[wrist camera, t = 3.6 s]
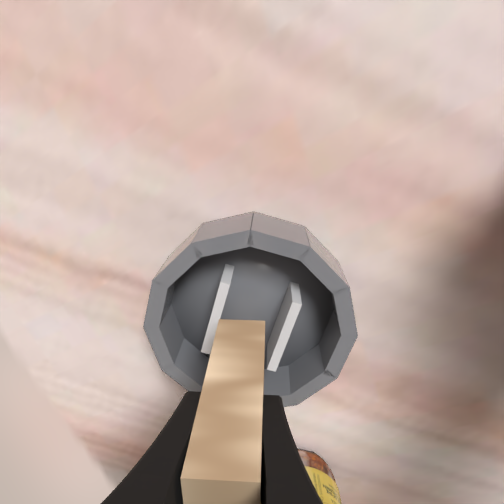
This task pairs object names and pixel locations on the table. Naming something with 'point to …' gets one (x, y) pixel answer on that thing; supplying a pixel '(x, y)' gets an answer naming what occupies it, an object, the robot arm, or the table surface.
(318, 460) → the sauce bottle
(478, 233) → the table surface
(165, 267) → the grey round bowl
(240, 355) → the wooden jenga block
